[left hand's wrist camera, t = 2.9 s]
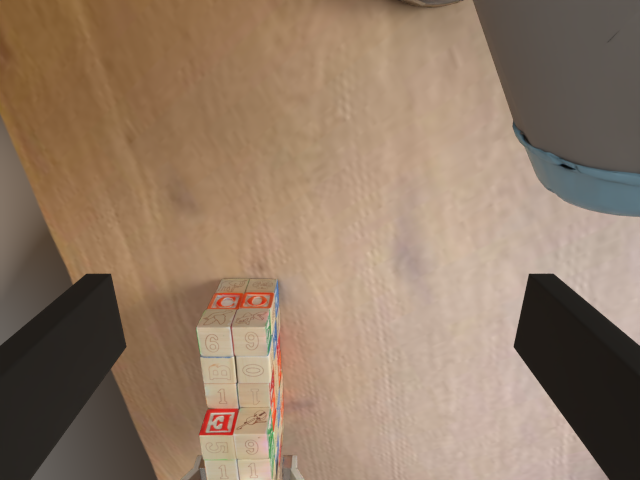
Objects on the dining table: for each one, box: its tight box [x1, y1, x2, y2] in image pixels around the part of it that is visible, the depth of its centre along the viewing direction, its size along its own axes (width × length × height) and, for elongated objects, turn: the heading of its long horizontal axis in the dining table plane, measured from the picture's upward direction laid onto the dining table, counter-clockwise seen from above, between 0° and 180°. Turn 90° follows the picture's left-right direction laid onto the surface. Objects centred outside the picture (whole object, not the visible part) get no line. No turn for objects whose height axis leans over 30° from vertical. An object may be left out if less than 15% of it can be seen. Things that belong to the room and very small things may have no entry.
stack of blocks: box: [196, 279, 284, 480], centre depth 42 cm, size 21×6×12 cm, turn 0°
